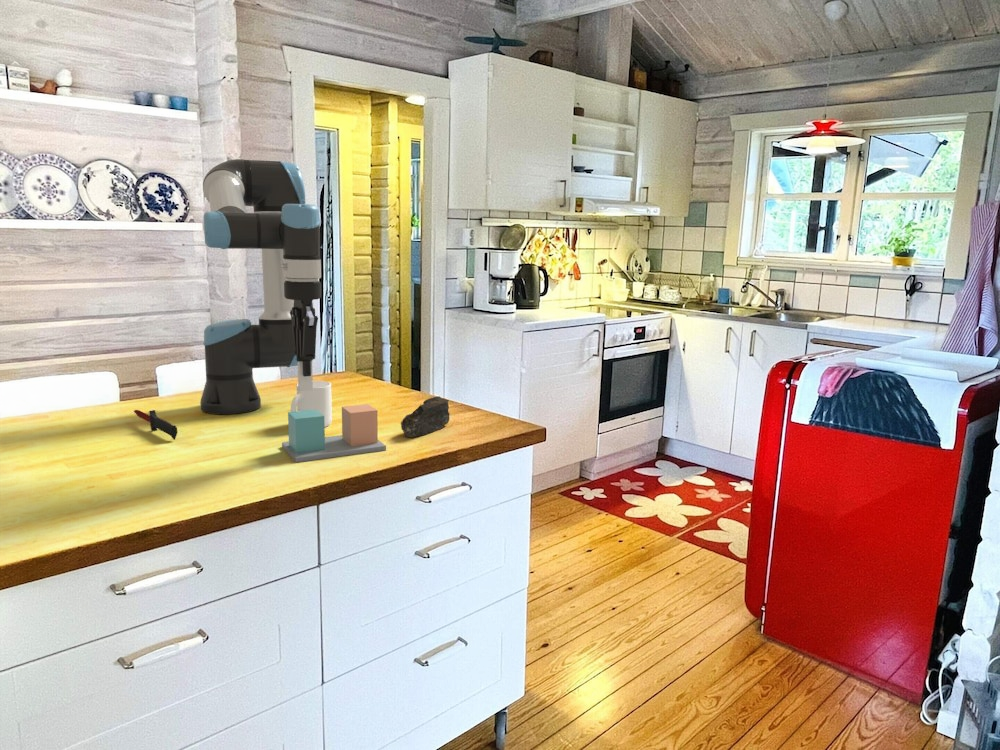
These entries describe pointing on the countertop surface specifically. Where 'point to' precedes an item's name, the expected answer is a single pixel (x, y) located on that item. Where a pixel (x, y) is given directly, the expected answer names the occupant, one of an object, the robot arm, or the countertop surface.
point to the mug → (315, 400)
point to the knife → (158, 423)
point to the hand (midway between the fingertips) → (305, 389)
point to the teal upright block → (306, 431)
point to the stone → (426, 417)
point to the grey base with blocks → (347, 436)
